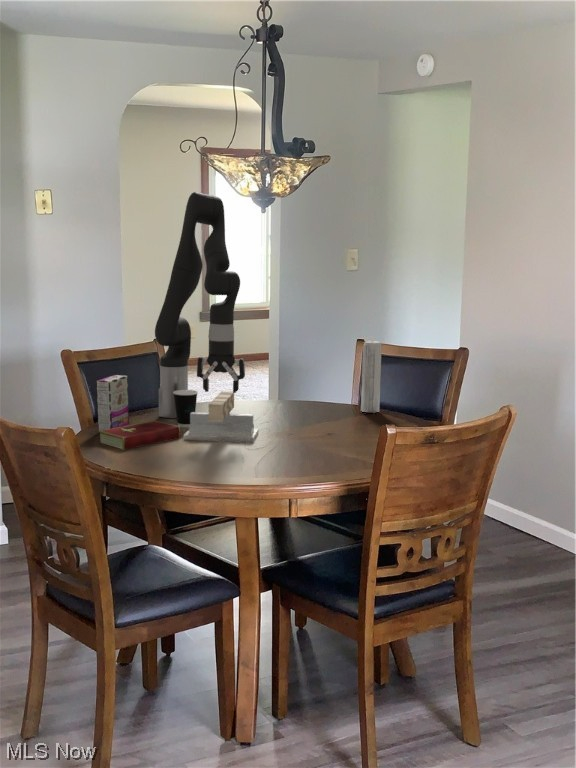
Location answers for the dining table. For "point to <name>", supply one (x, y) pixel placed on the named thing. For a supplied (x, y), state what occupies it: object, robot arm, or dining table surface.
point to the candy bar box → (112, 402)
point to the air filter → (371, 376)
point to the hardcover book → (139, 434)
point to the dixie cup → (184, 406)
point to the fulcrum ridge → (221, 428)
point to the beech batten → (221, 406)
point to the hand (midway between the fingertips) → (220, 391)
